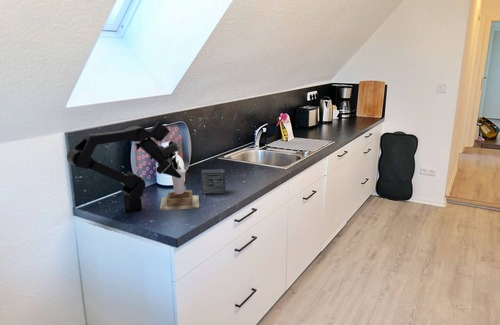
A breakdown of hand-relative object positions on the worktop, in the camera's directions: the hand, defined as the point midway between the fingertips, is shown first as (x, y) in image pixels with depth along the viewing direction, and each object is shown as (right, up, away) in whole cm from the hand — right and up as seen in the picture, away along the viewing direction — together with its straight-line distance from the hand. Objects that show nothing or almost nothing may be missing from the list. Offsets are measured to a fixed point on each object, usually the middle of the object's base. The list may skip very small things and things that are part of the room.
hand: (181, 175), depth 172 cm
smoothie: (-1, -8, +2) cm, 8 cm away
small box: (+12, -9, +17) cm, 22 cm away
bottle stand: (-1, -12, +3) cm, 13 cm away
